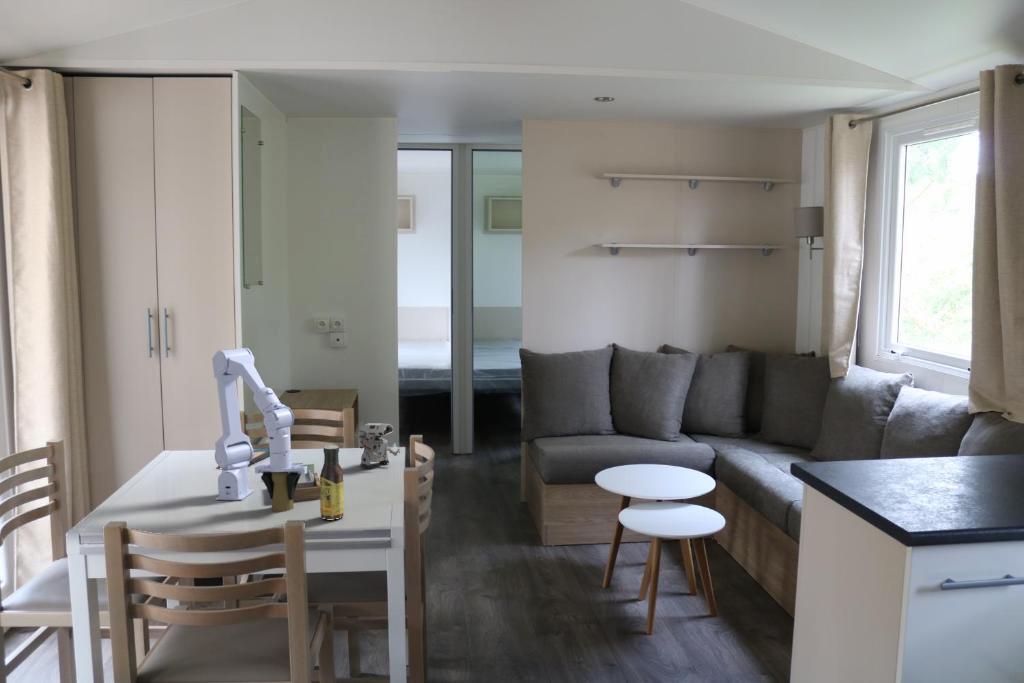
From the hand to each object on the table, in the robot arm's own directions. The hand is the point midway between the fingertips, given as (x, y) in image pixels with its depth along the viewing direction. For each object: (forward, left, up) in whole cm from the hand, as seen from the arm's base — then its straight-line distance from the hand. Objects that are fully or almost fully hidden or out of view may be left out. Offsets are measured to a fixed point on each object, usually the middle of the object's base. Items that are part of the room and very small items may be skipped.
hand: (282, 498), depth 222 cm
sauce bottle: (-8, -17, -3) cm, 19 cm away
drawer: (+24, +4, -2) cm, 25 cm away
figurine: (+44, -18, -3) cm, 48 cm away
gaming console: (+52, +31, -4) cm, 60 cm away
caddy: (+14, 0, -3) cm, 15 cm away
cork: (0, 0, -3) cm, 3 cm away
